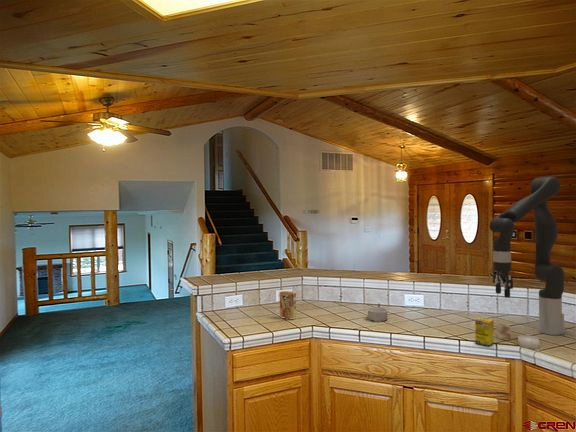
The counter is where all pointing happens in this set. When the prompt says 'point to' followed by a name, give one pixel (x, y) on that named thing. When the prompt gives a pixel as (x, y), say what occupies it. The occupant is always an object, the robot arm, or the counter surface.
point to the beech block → (503, 331)
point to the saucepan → (377, 313)
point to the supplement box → (484, 331)
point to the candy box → (287, 304)
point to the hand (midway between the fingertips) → (502, 295)
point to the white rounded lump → (528, 341)
